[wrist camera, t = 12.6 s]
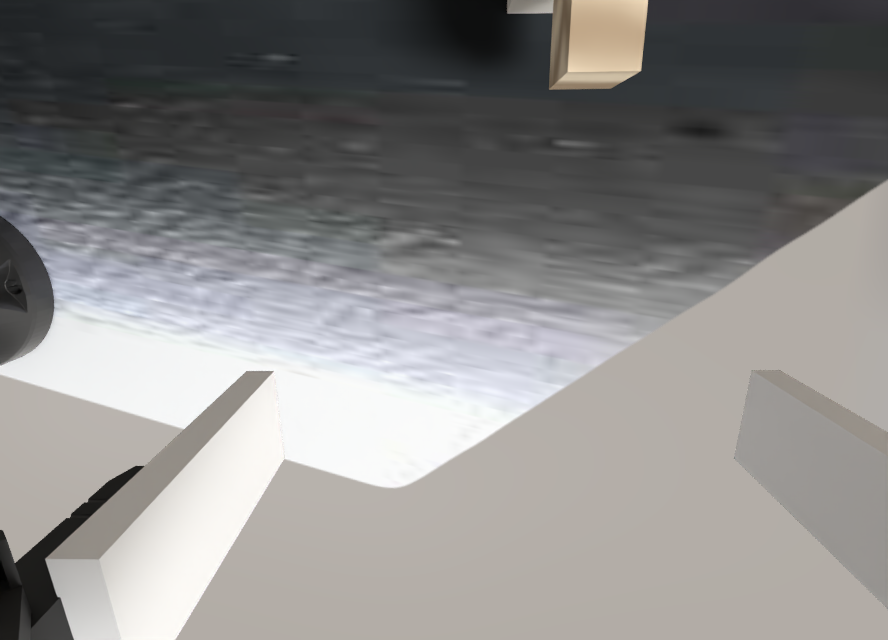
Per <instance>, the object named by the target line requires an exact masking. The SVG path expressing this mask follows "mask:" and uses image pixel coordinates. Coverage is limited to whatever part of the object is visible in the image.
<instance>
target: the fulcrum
mask: <svg viewBox="0 0 888 640" xmlns="http://www.w3.org/2000/svg"><path fill="white" fill-rule="evenodd" d="M553 1H554V0H507V14H521V13H553Z"/></svg>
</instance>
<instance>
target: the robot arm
mask: <svg viewBox="0 0 888 640" xmlns="http://www.w3.org/2000/svg"><path fill="white" fill-rule="evenodd" d="M53 312H54V297H53V290H52V286H51V282H50V279H49V276H48V273H47V271H46V269H45V266H44V264H43V262H42V261H41V259H40V257H39V256H38V254H37V252H36V251H35V250H34V248H33V247H32V246H31V244H30V243H29V242H28V241H27V240H26V238H25V237H24V236H23V235H22V234H21V233H20V232H19V231H18V230H17V229H15V228H14V227H13V226H12V225H11V224H9V223H8V222H7V221H5V220H4V219H3V218H1V217H0V365H3V364H5V363H8V362H10V361H12V360H15V359H17V358H20V357H22V356H24V355H26V354H28V353H29V352H31V351H32V350H34V349H35V348H36V347H37V346H38V345H39V344H40V343H41V342H42V340H43V339H44V338H45V336H46V334H47V332H48V330H49V328H50V325H51V322H52V318H53ZM284 458H285V455H284V447H283V439H282V431H281V423H280V415H279V407H278V399H277V391H276V383H275V375H274V371H246V372H245V373H244V374H243V375H242V376H241V377H240V378H239V379H238V380H237V381H236V382H235V383H234V384H232V385H231V386H230V387H229V388H228V389H227V390H226V391H225V392H224V393H223V394H222V395H221V396H220V397H218V398H217V399H216V400H215V401H214V402H213V403H212V404H211V405H210V406H209V407H208V408H207V409H206V410H205V411H203V412H202V413H201V414H200V415H199V416H198V417H197V418H196V419H195V420H194V421H193V422H192V423H191V424H190V425H188V426H187V427H186V428H185V429H184V430H183V431H182V432H181V433H180V434H179V435H178V436H177V437H176V438H174V439H173V440H172V441H171V442H170V443H169V444H168V445H167V446H166V447H165V448H164V449H163V450H162V451H161V452H159V454H157V455H156V456H155V457H154V458H153V459H152V460H151V461H150V462H149V463H148V464H147V465H145V466H135V467H133V468H131V469H129V470H128V471H126V472H124V473H122V474H121V475H119V476H117V477H115V478H113V479H112V480H110V481H108V482H107V483H106V484H105V485H104V486H103V487H102V488H100V489H99V490H98V491H97V492H96V493H95V494H94V495H92V496H91V497H90V498H89V499H88V502H87V503H84V504H82V505H81V506H80V507H79V508H78V509H76V510H75V511H74V512H73V513H72V514H71V517H70V518H66V519H65V520H64V521H63V522H62V523H60V524H59V525H58V526H57V527H56V528H55V529H54V530H52V531H51V532H50V533H49V534H48V535H47V536H46V537H45V538H44V539H42V540H41V541H40V542H39V543H38V544H37V545H35V546H34V547H33V548H32V549H31V550H30V551H29V552H27V553H26V554H25V555H24V556H23V557H22V558H21V559H19V560H18V561H17V562H16V563H14V560H13V557H12V554H11V551H10V548H9V545H8V542H7V540H6V537H5V535H4V532H3V531H2V530H0V640H175V639H176V638H177V636H178V634H179V633H180V631H181V629H182V628H183V626H184V624H185V623H186V621H187V619H188V618H189V616H190V614H191V613H192V611H193V609H194V608H195V606H196V605H197V603H198V601H199V600H200V598H201V596H202V595H203V593H204V591H205V590H206V588H207V586H208V584H209V583H210V581H211V580H212V578H213V576H214V575H215V573H216V571H217V570H218V568H219V566H220V565H221V563H222V561H223V560H224V558H225V556H226V555H227V553H228V551H229V549H230V548H231V546H232V545H233V543H234V541H235V540H236V538H237V536H238V535H239V533H240V531H241V530H242V528H243V526H244V525H245V523H246V521H247V519H248V518H249V516H250V515H251V513H252V511H253V510H254V508H255V506H256V504H257V503H258V501H259V500H260V498H261V496H262V495H263V493H264V491H265V490H266V488H267V486H268V485H269V483H270V481H271V480H272V478H273V476H274V475H275V473H276V471H277V470H278V468H279V466H280V465H281V463H282V461H283V460H284ZM734 459H735V460H736V461H737V462H738V463H739V464H740V465H742V466H743V467H744V468H745V469H746V470H747V471H748V472H749V473H750V474H751V475H752V476H753V477H754V478H755V479H756V480H757V481H758V482H759V483H760V484H761V485H762V486H763V487H764V488H765V489H766V490H767V491H768V492H769V493H770V494H771V495H772V496H773V497H774V498H775V499H776V500H777V501H778V502H779V503H780V504H781V505H782V506H783V507H784V508H785V509H786V510H787V511H789V513H790V514H792V515H793V517H795V518H796V520H797V521H799V522H800V523H801V524H802V525H803V526H804V527H805V528H806V529H807V530H808V531H809V532H810V533H811V534H812V535H813V536H814V537H815V538H816V539H817V540H818V541H819V542H820V543H821V544H822V545H823V546H824V547H825V548H826V549H827V550H828V551H829V552H830V553H831V554H832V555H833V556H834V557H836V559H837V560H838V561H839V562H840V563H841V564H842V565H843V566H844V567H845V568H846V569H847V570H848V571H849V572H851V573H852V574H853V575H854V576H855V577H856V578H857V579H858V580H859V581H860V582H861V583H862V584H863V585H864V586H865V587H866V588H867V589H868V590H869V591H870V592H871V593H872V594H873V595H874V596H875V597H876V598H877V599H878V600H879V601H880V602H881V603H882V604H883V605H884V606H885V607H886V608H887V609H888V432H886V431H884V430H883V429H881V428H879V427H877V426H875V425H874V424H872V423H870V422H869V421H867V420H865V419H863V418H862V417H860V416H858V415H856V414H855V413H853V412H851V411H850V410H848V409H846V408H844V407H843V406H841V405H839V404H838V403H836V402H834V401H832V400H831V399H829V398H827V397H825V396H824V395H822V394H820V393H818V392H817V391H815V390H813V389H812V388H810V387H808V386H806V385H805V384H803V383H801V382H799V381H797V380H796V379H794V378H792V377H791V376H789V375H787V374H785V373H784V372H782V371H780V370H752V371H751V376H750V381H749V386H748V391H747V396H746V401H745V406H744V411H743V416H742V421H741V426H740V431H739V436H738V441H737V446H736V451H735V456H734Z"/></svg>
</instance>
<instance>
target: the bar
mask: <svg viewBox="0 0 888 640" xmlns="http://www.w3.org/2000/svg"><path fill="white" fill-rule="evenodd" d="M647 6H648V0H554V1H553V21H552V41H551V61H550V81H549V89H611V88H612V87H614V86H616V85H618V84H619V83H621V82H623V81H624V80H626V79H628V78H630V77H631V76H633V75H635V74H637V73H638V72H640V71H641V65H642V55H643V45H644V35H645V25H646V15H647Z"/></svg>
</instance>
